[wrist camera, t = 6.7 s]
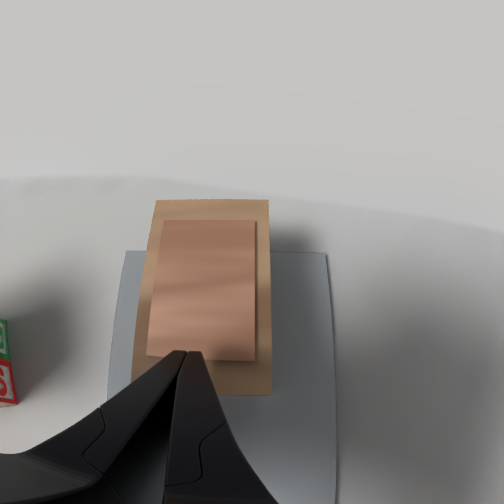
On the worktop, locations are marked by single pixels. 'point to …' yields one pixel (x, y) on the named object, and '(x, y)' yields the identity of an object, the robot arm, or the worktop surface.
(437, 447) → the worktop surface
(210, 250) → the walnut block
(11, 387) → the stack of blocks
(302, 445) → the slate mat
